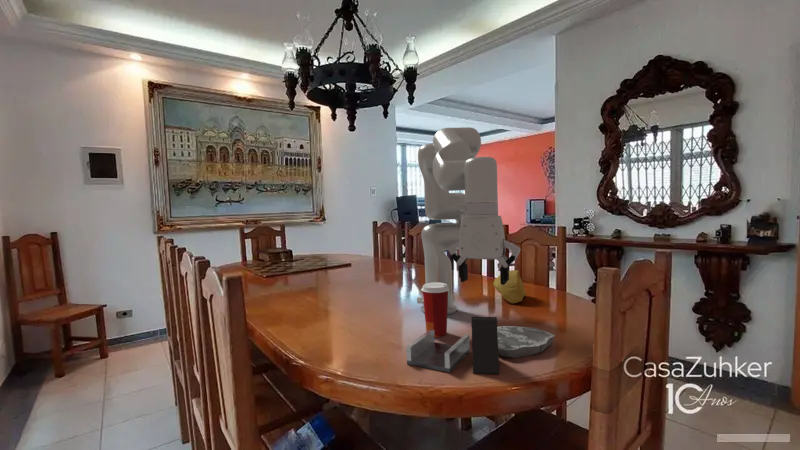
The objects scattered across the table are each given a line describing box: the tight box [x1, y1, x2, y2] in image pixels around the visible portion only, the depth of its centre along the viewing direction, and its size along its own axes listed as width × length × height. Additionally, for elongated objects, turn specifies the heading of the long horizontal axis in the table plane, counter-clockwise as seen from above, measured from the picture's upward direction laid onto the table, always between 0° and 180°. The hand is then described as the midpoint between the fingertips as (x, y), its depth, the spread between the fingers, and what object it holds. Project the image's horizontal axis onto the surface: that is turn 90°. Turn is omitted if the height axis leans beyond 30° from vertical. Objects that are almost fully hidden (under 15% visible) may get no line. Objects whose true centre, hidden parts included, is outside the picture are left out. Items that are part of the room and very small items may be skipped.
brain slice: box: [497, 325, 555, 359], centre depth 107 cm, size 20×17×3 cm
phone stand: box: [471, 316, 500, 375], centre depth 95 cm, size 9×6×12 cm, turn 170°
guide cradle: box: [406, 329, 471, 374], centre depth 101 cm, size 11×14×4 cm
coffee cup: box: [420, 282, 449, 338], centre depth 119 cm, size 8×8×15 cm
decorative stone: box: [492, 269, 527, 305], centre depth 155 cm, size 13×15×15 cm
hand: (483, 282), depth 94 cm, fingers open, 9 cm apart
